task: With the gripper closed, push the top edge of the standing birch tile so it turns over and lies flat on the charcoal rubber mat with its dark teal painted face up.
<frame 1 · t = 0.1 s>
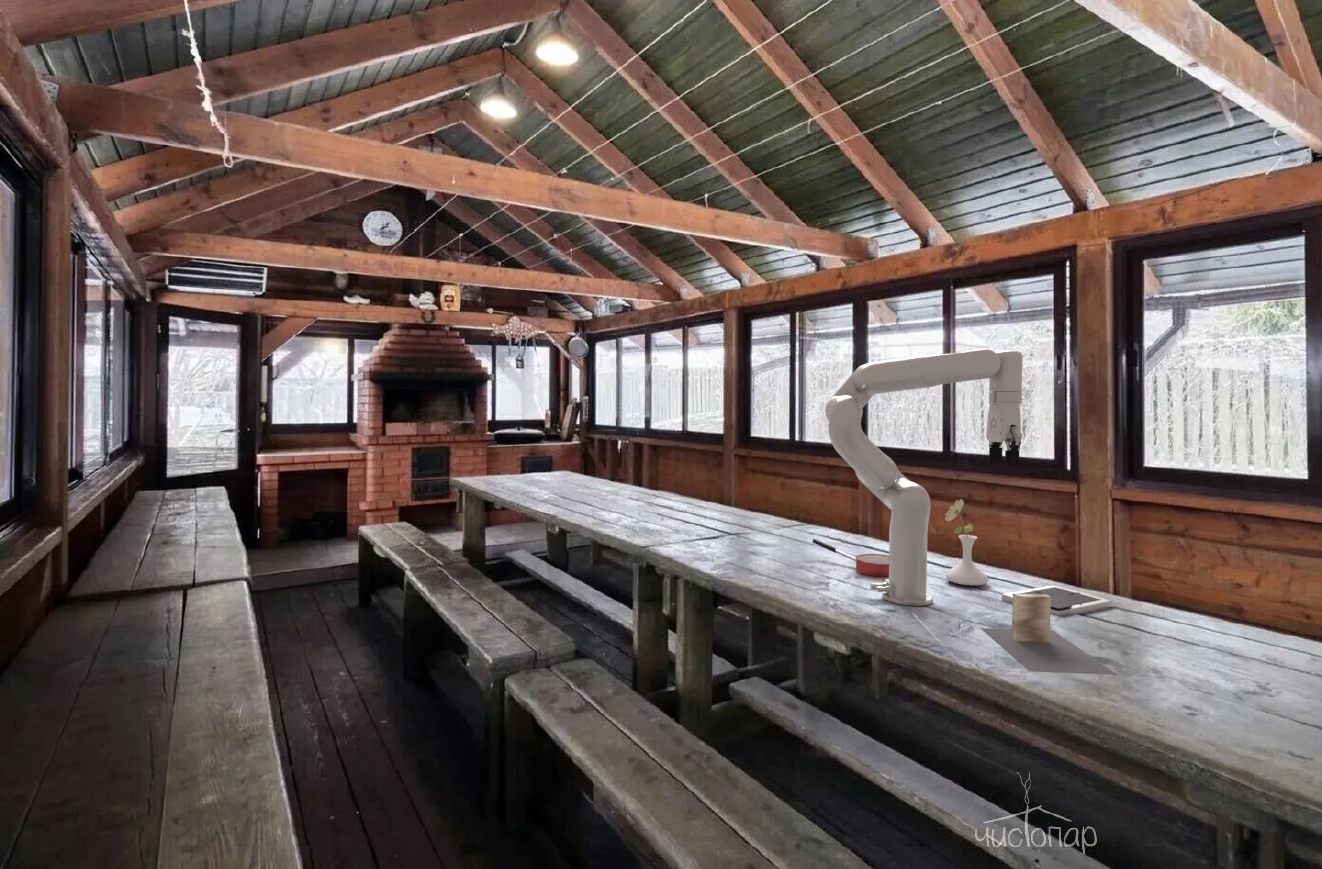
hand: (1003, 464, 169), 37 cm above the table, fingers open, 9 cm apart
rubber mat: (1042, 651, 137), on the table
tile: (1030, 640, 142), point 1 cm above the table, touching rubber mat
frying pan: (850, 567, 208), on the table
flower in vase: (964, 584, 189), on the table
picture frame: (1055, 605, 170), on the table
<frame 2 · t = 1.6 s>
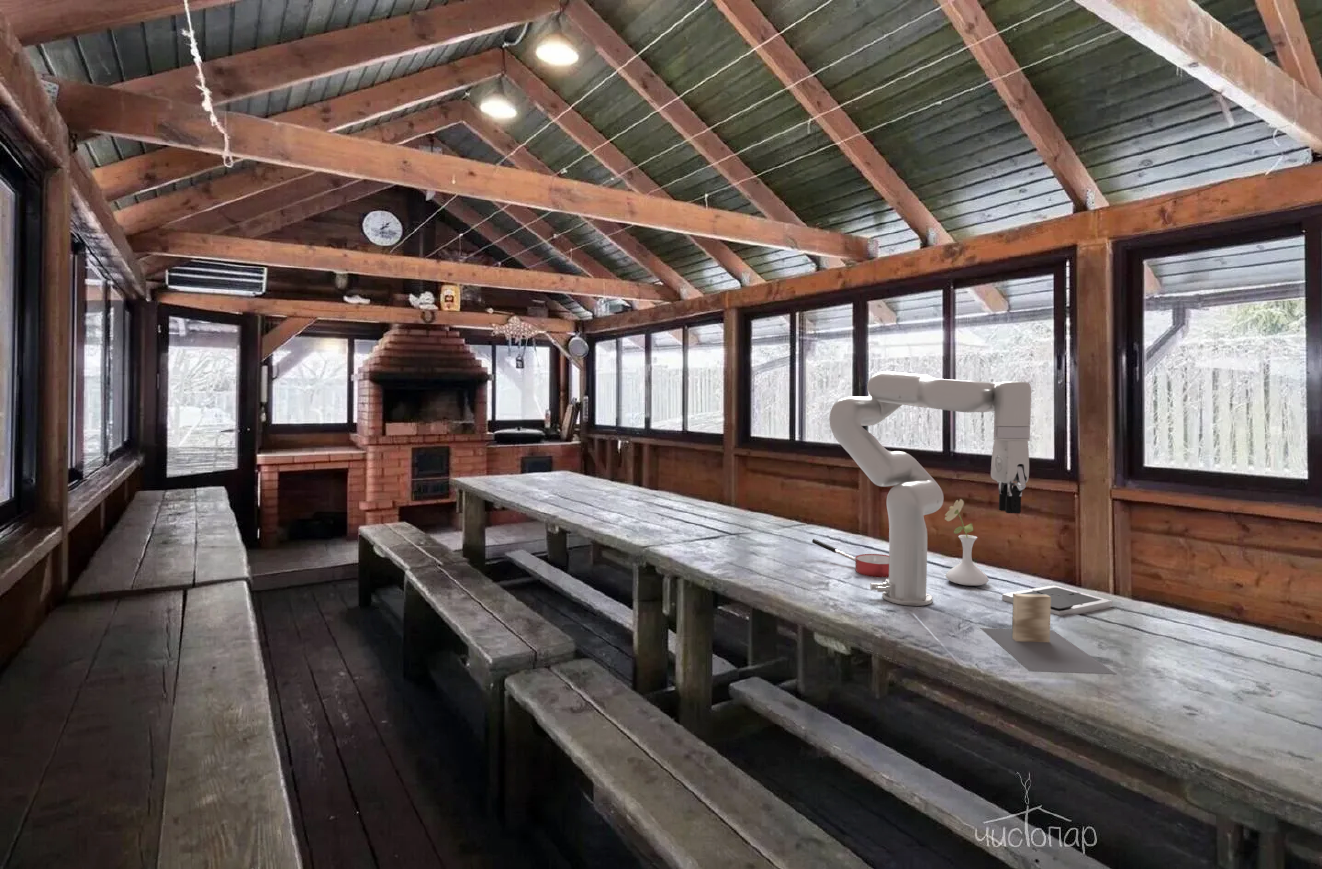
hand: (1009, 511, 153), 27 cm above the table, fingers closed
nothing on the table moved.
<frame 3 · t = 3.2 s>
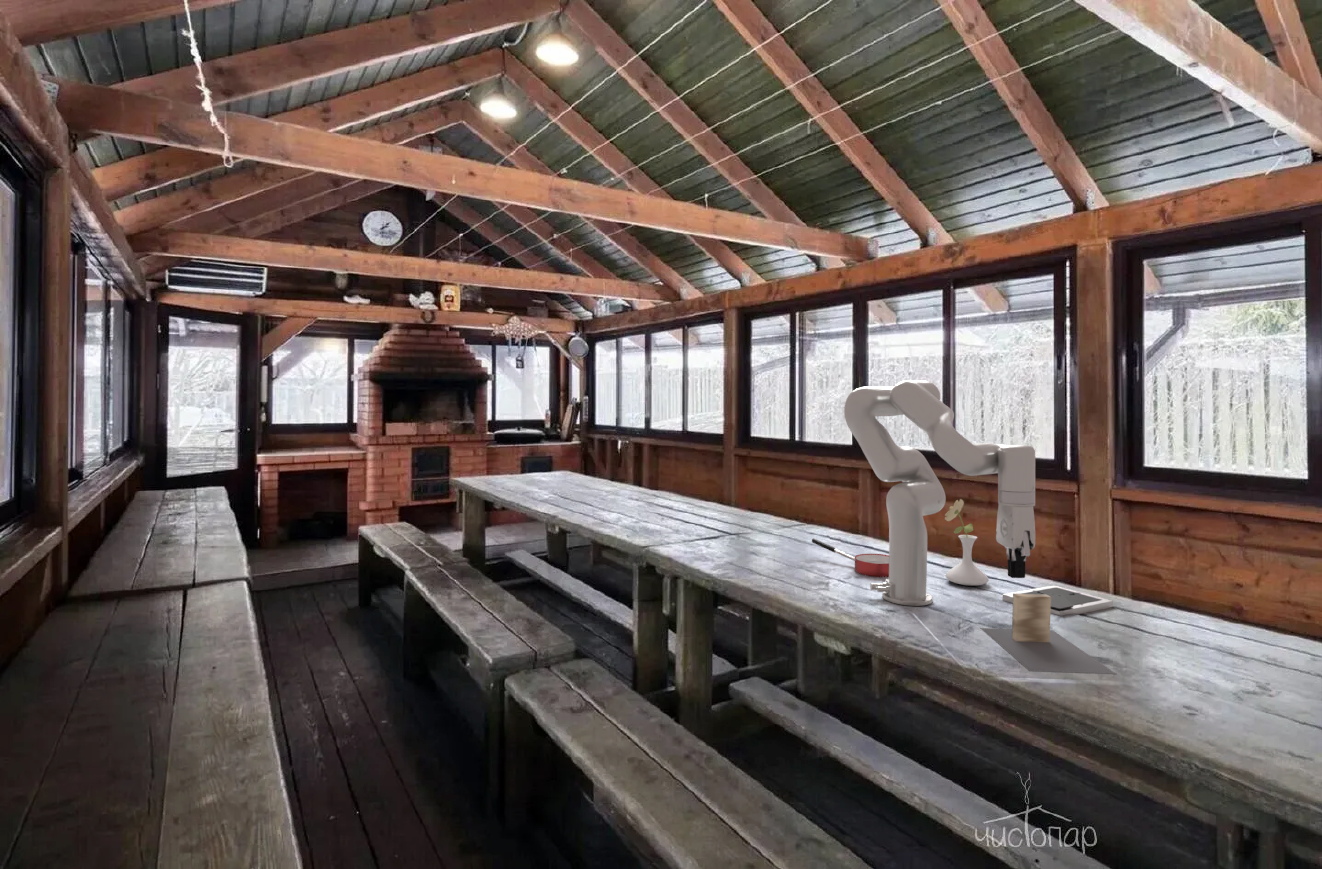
hand: (1016, 576, 150), 12 cm above the table, fingers closed
nothing on the table moved.
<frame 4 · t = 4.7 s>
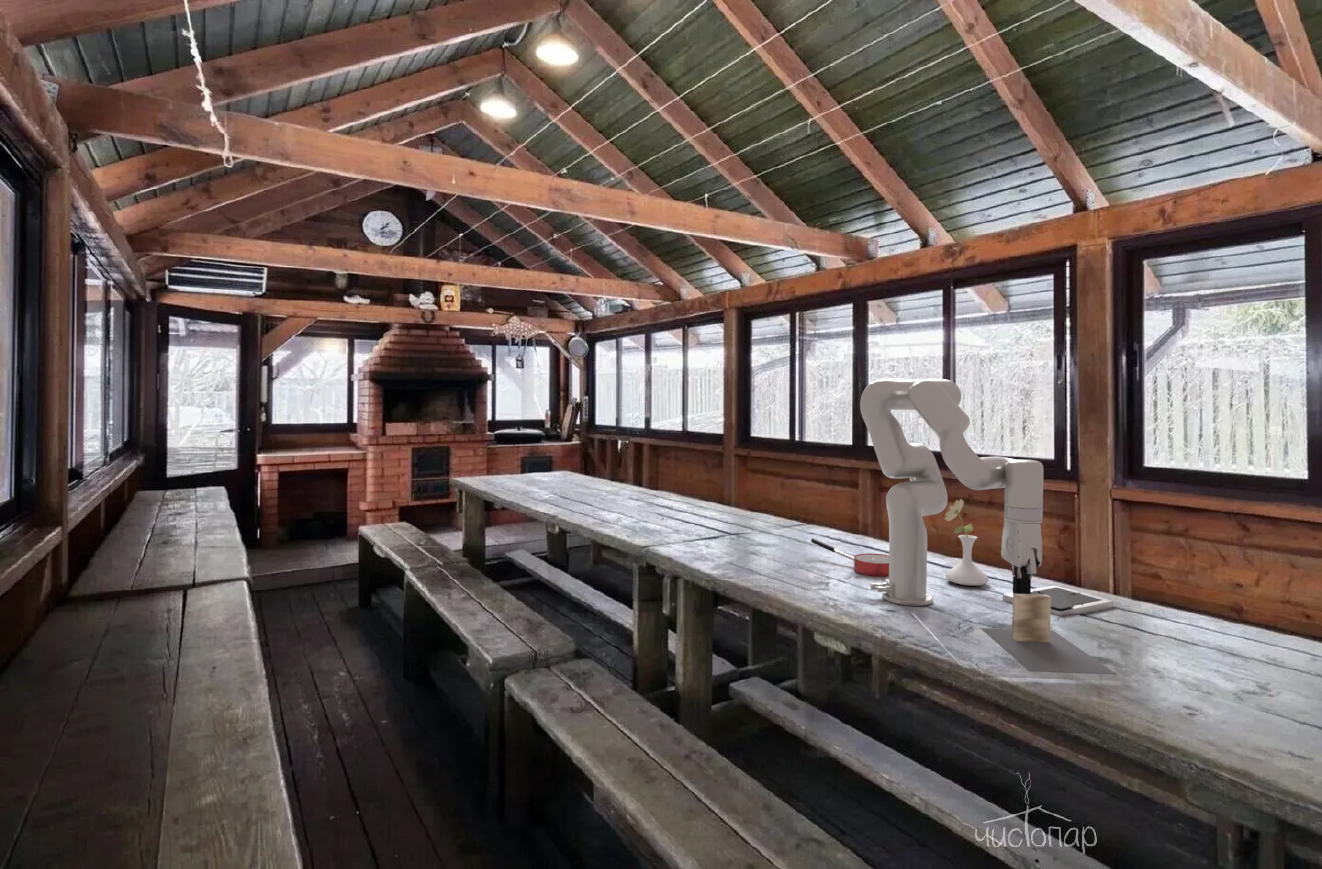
hand: (1021, 594, 147), 9 cm above the table, fingers closed
nothing on the table moved.
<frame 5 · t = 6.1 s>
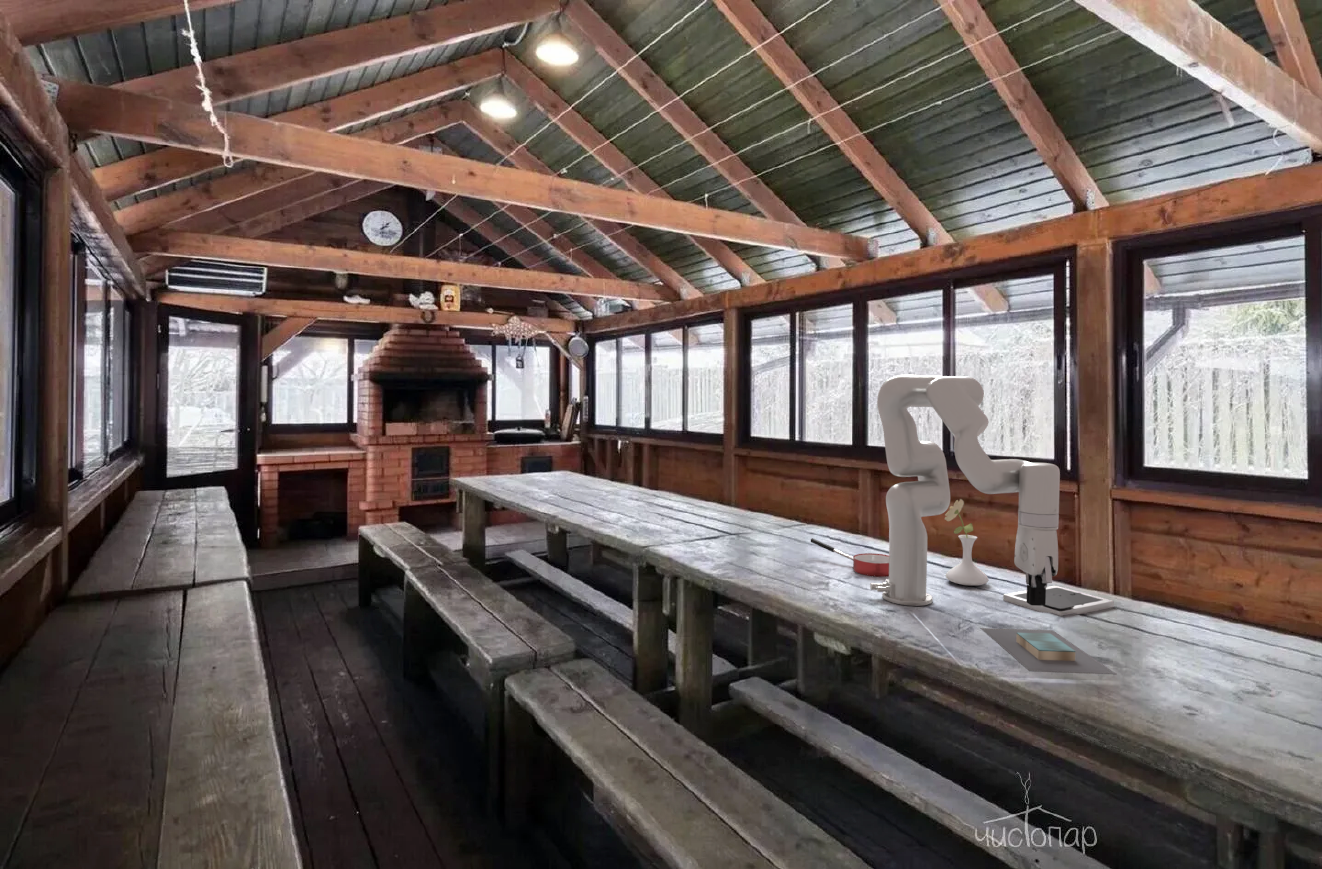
hand: (1035, 604, 140), 9 cm above the table, fingers closed
tile: (1033, 637, 141), point 1 cm above the table, tilted 90°, touching rubber mat
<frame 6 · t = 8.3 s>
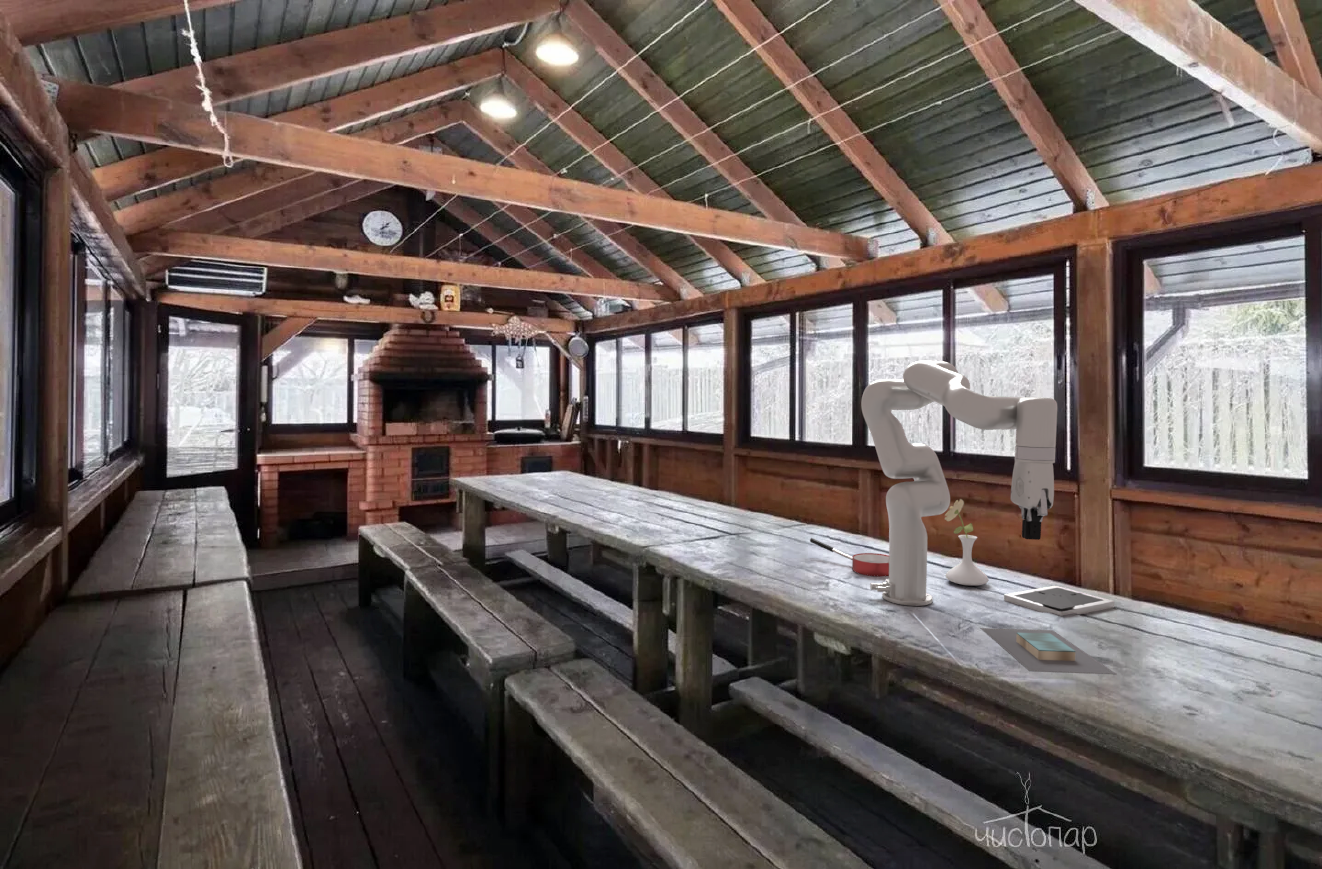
hand: (1031, 538, 141), 23 cm above the table, fingers closed
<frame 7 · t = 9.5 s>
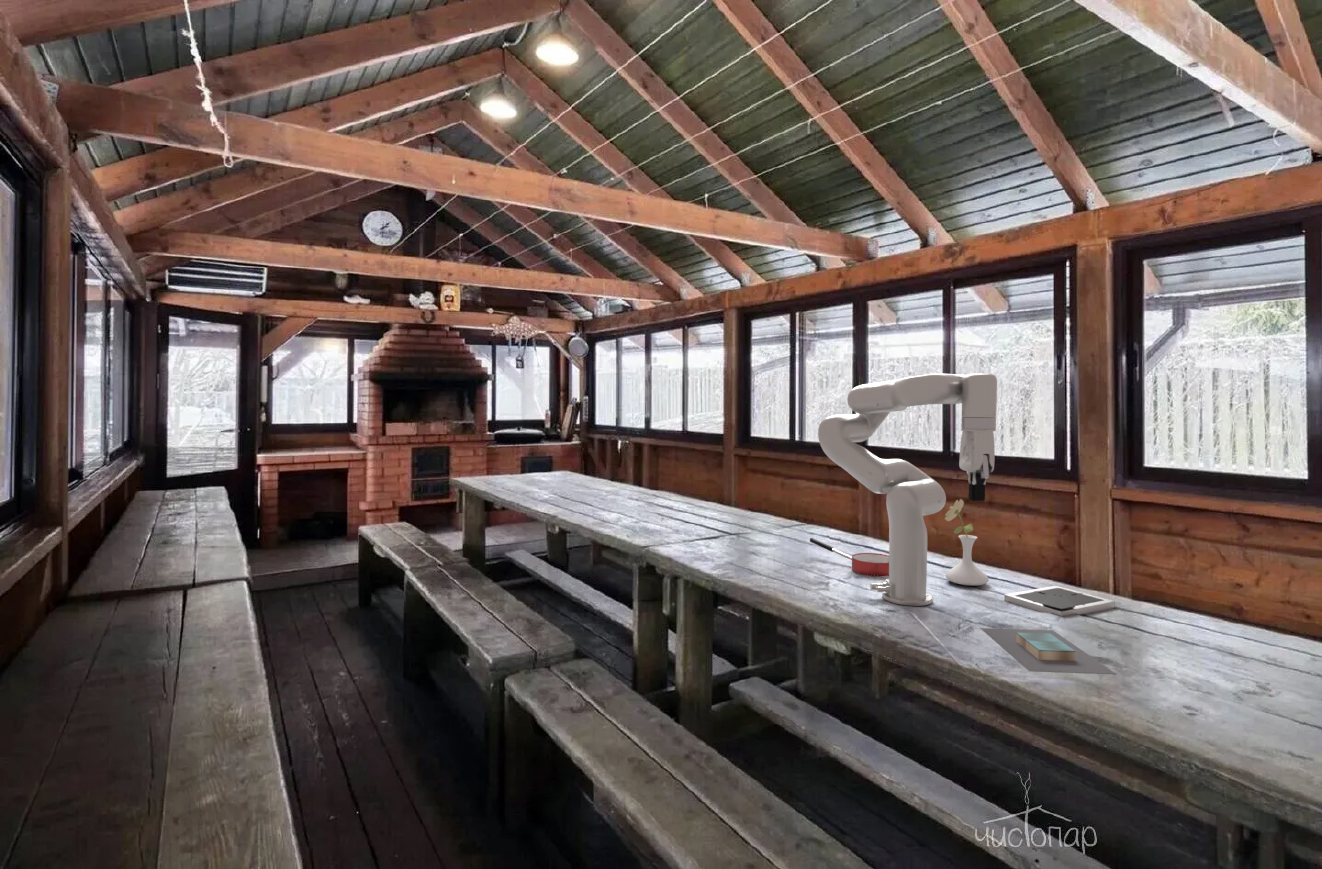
hand: (976, 500, 157), 29 cm above the table, fingers closed
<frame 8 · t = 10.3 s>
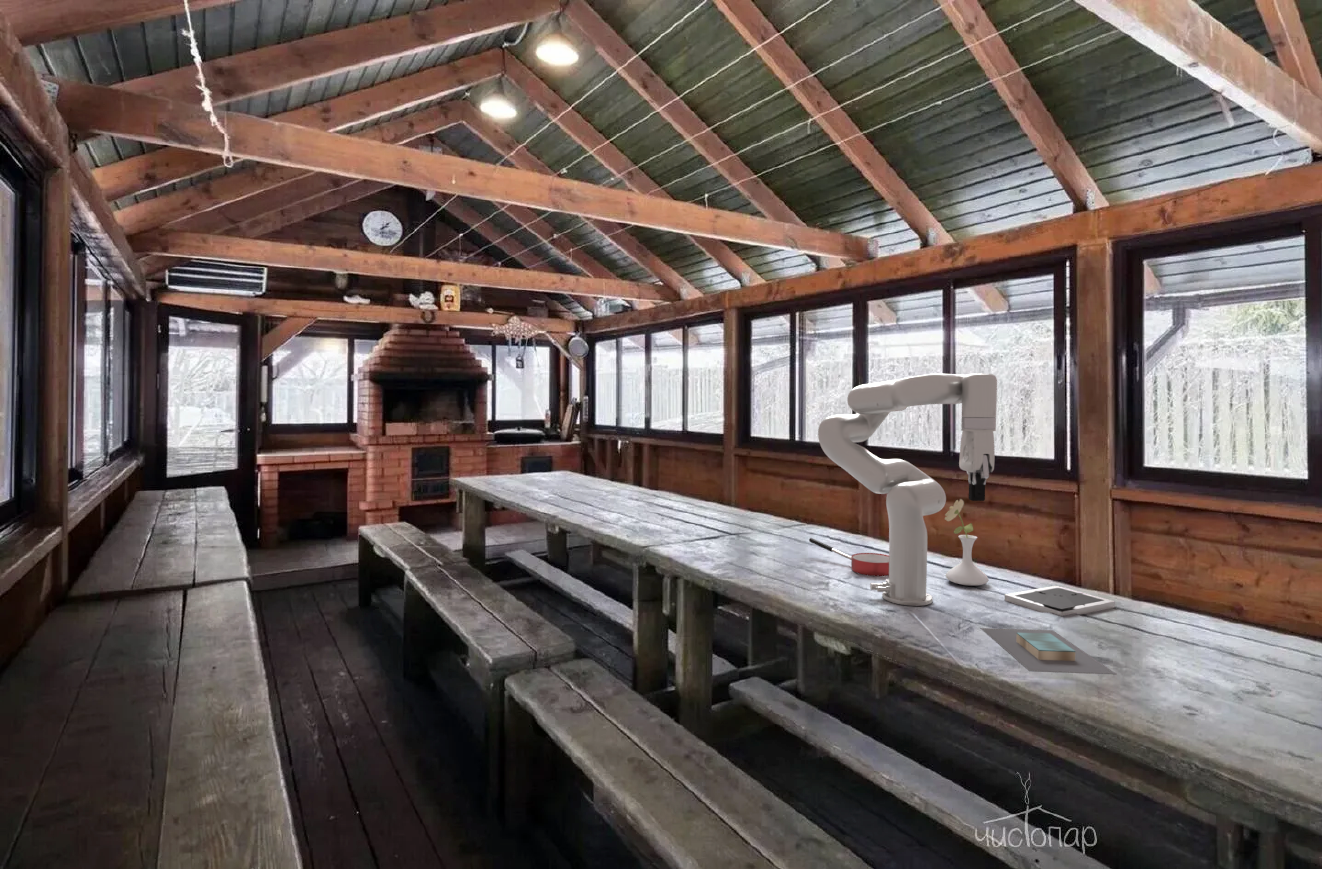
hand: (976, 500, 157), 29 cm above the table, fingers closed
at the end: tile tilted 90°; tile inside the target area (2.4 cm from its centre), point 1.5 cm above the table; tile touching rubber mat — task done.
